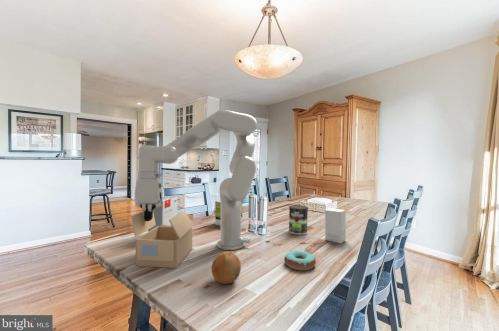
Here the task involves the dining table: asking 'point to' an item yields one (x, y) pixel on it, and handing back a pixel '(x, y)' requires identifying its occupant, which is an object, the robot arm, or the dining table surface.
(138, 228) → the flap
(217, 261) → the onion
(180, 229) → the flap
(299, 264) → the donut
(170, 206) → the hard drive box
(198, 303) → the dining table surface
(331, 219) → the skincare box
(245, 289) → the dining table surface
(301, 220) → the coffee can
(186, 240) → the carton
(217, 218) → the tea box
